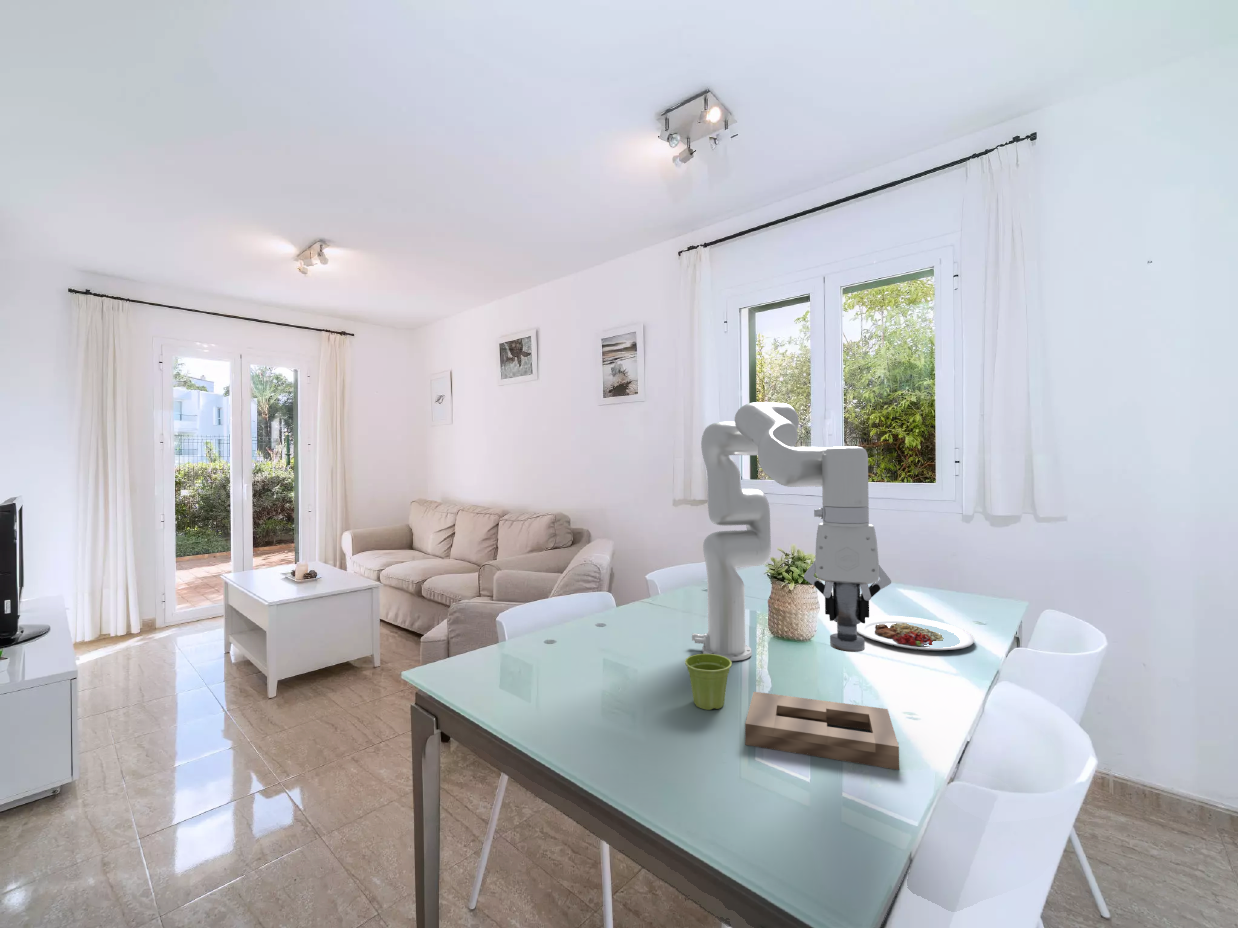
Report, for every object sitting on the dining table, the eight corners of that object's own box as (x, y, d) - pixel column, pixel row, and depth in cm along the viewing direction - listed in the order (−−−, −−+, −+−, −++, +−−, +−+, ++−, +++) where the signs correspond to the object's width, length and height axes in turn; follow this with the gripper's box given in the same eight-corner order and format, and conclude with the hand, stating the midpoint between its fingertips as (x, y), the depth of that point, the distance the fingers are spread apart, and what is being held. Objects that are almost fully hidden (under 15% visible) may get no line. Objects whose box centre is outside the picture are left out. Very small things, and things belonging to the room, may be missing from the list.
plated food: (929, 620, 167) (929, 609, 167) (1002, 654, 137) (1002, 641, 137) (835, 622, 166) (834, 611, 166) (887, 657, 136) (886, 643, 136)
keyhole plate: (745, 744, 93) (745, 723, 94) (753, 710, 107) (753, 691, 107) (899, 769, 85) (898, 746, 85) (887, 728, 98) (887, 708, 98)
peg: (830, 649, 93) (829, 574, 93) (829, 639, 98) (828, 568, 98) (866, 653, 91) (865, 576, 91) (863, 643, 96) (862, 570, 96)
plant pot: (722, 718, 103) (721, 673, 103) (677, 707, 108) (677, 664, 108) (738, 700, 111) (738, 658, 111) (696, 690, 116) (696, 650, 116)
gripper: (794, 517, 94) (795, 621, 94) (902, 519, 88) (903, 630, 88) (795, 513, 101) (797, 610, 101) (895, 515, 95) (897, 618, 95)
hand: (846, 618), depth 95 cm, fingers closed on peg, 4 cm apart
